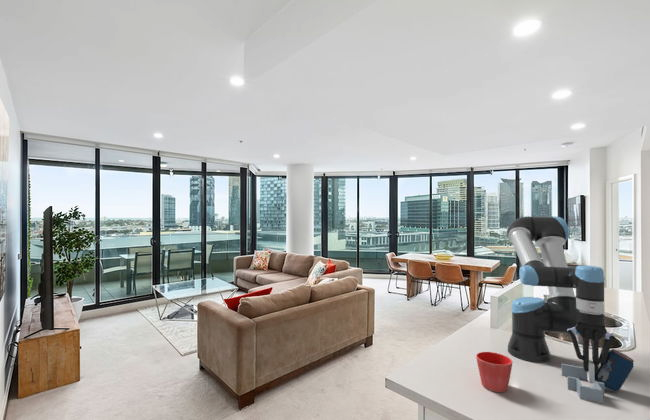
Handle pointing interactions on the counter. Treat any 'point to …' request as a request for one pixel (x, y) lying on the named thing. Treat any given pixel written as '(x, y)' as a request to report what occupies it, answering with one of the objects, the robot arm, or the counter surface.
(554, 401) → the counter surface
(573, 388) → the channel
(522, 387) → the counter surface
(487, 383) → the flower pot
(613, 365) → the soda can
